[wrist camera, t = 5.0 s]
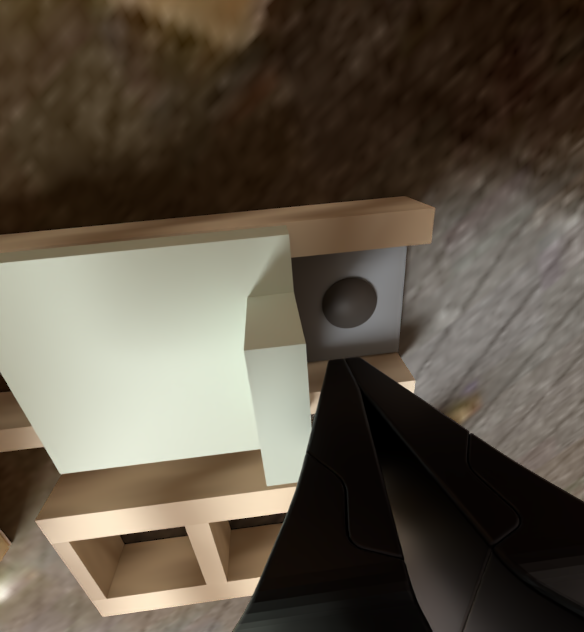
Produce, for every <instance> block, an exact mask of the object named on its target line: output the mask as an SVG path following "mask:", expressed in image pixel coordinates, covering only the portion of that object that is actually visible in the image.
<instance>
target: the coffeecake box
mask: <svg viewBox="0 0 584 632" xmlns="http://www.w3.org/2000/svg"><path fill="white" fill-rule="evenodd" d="M10 546H11V542H10V541H9V539H8V538H7V537H6V535H5V534H4V533H3V532H2V531H1V529H0V562H1V560H2V559H3V557H4V555H5V554H6V552H7V551H8V549H9V548H10Z"/></svg>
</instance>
